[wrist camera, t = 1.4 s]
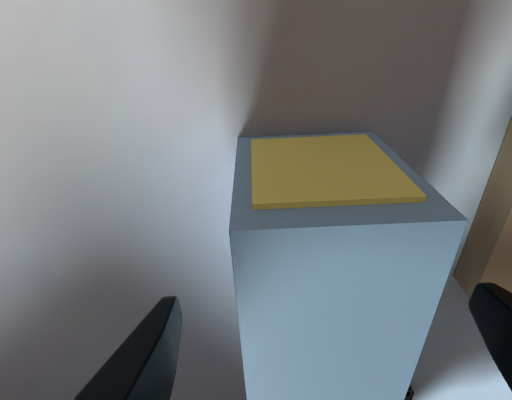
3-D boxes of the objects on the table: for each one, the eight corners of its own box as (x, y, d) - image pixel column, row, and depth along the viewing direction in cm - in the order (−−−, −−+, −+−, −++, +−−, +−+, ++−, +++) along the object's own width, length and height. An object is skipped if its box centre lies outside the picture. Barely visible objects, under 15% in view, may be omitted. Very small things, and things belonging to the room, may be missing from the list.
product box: (351, 271, 15) (403, 401, 10) (248, 275, 15) (247, 408, 10) (372, 126, 12) (470, 214, 7) (237, 132, 12) (228, 225, 7)
